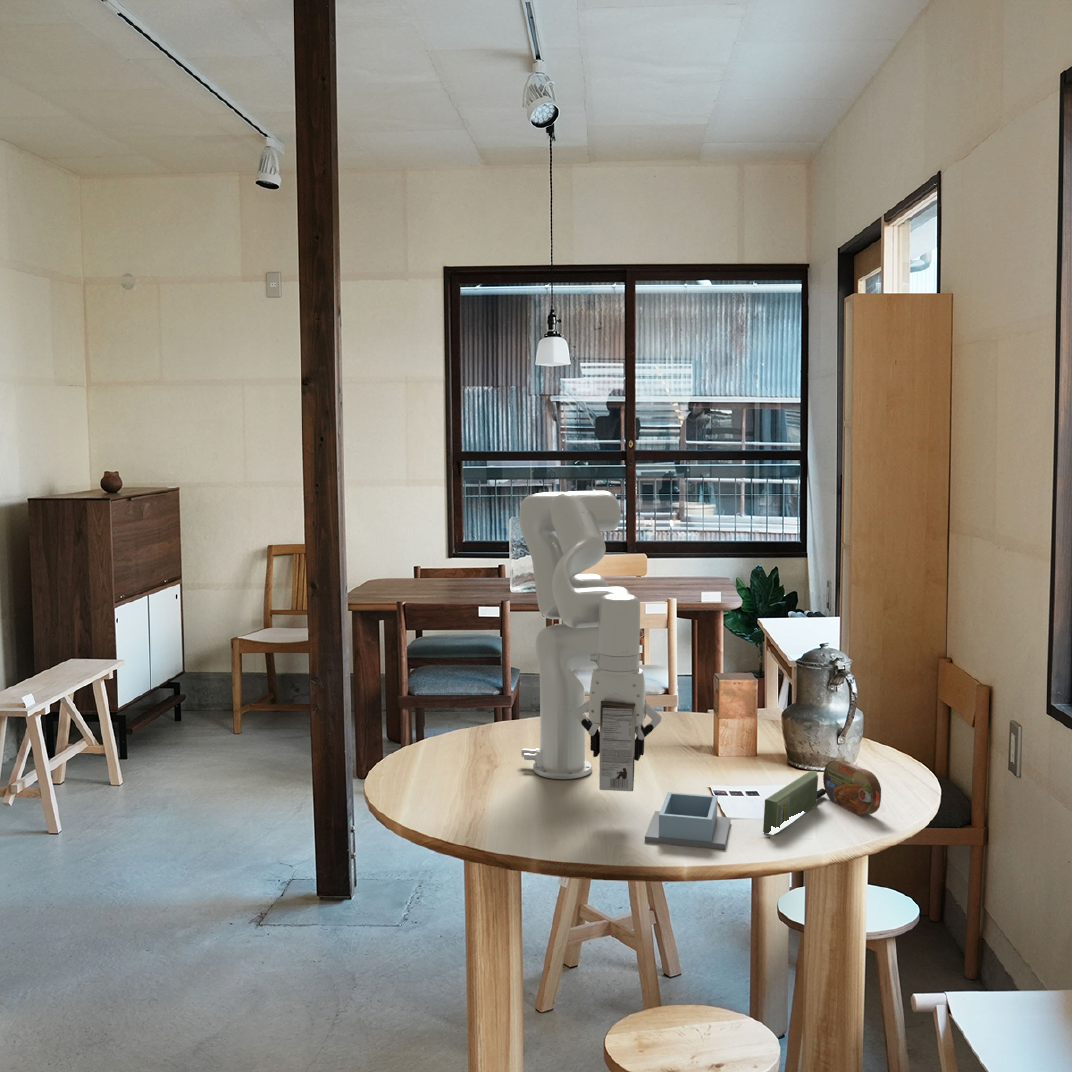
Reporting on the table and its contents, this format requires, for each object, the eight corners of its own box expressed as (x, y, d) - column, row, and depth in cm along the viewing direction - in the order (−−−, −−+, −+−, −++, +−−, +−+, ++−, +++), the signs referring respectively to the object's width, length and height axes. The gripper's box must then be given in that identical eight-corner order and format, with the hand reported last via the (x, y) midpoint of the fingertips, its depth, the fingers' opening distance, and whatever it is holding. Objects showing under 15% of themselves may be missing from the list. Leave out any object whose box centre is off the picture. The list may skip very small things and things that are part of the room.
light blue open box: (644, 841, 184) (644, 814, 184) (655, 816, 197) (655, 790, 196) (725, 849, 181) (725, 821, 180) (730, 822, 193) (730, 796, 193)
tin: (821, 796, 208) (822, 755, 207) (834, 794, 209) (835, 753, 208) (869, 822, 194) (870, 778, 193) (883, 820, 195) (884, 776, 194)
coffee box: (599, 773, 198) (601, 690, 196) (634, 774, 197) (635, 691, 195) (598, 790, 189) (599, 703, 187) (634, 792, 188) (635, 704, 186)
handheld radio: (759, 833, 189) (814, 795, 209) (776, 838, 187) (830, 799, 207) (761, 797, 188) (816, 763, 208) (778, 802, 186) (832, 767, 206)
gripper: (567, 663, 189) (566, 759, 191) (663, 670, 184) (661, 767, 186) (576, 654, 196) (575, 746, 198) (669, 660, 191) (666, 754, 194)
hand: (617, 755), depth 192 cm, fingers closed on coffee box, 7 cm apart
